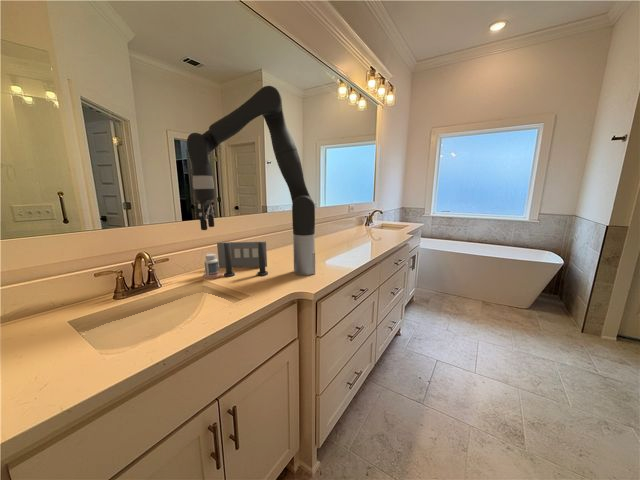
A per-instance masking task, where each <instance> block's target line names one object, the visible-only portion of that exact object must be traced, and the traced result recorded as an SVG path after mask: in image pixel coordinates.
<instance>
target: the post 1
mask: <svg viewBox="0 0 640 480" xmlns="http://www.w3.org/2000/svg"><path fill="white" fill-rule="evenodd" d="M224 251H225V263H226V268H225V272H224V274H223V277H225V278H232V277H234V276H235V275H236V274H235V272H234V271H233V268H232V262H231V249H230V243H224Z"/></svg>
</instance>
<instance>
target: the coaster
mask: <svg viewBox="0 0 640 480" xmlns="http://www.w3.org/2000/svg"><path fill="white" fill-rule="evenodd" d="M223 276H224V274H223V272H220V271H219V275H217V276H213V277H208V276H206V273H204V274H202V276H201V278H202V279H203V280H213V279H214V280H215V279H218V278H221V277H223Z"/></svg>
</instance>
